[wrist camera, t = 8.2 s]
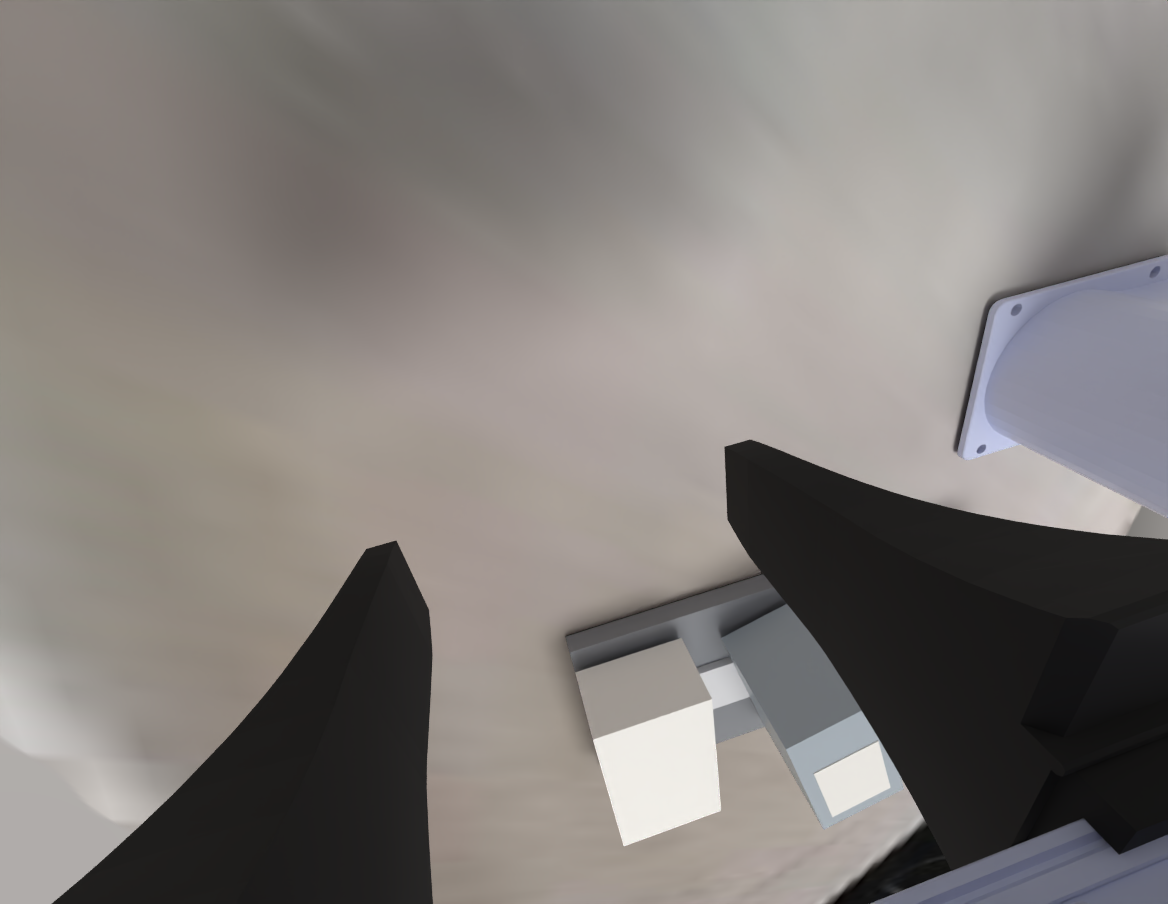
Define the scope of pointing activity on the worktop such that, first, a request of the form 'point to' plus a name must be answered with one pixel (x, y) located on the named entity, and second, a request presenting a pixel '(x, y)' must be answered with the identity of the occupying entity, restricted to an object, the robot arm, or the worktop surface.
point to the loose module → (812, 717)
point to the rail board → (694, 634)
